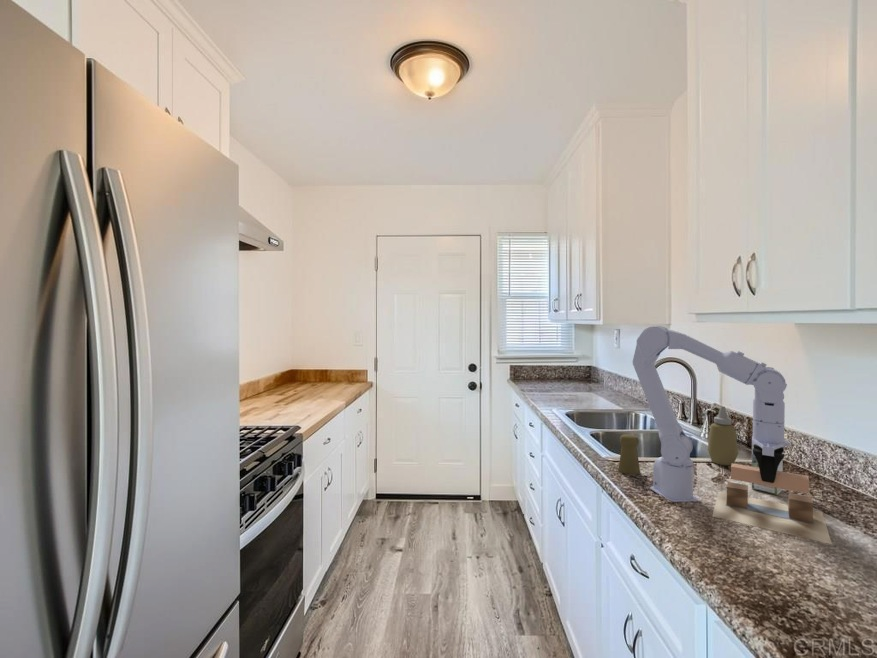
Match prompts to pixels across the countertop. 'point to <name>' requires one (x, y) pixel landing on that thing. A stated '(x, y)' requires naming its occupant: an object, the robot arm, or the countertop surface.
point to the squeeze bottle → (722, 440)
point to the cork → (629, 455)
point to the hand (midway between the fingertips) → (767, 479)
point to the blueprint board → (772, 513)
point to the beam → (781, 481)
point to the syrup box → (762, 487)
